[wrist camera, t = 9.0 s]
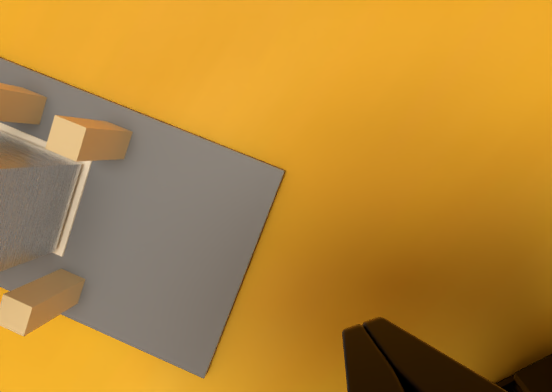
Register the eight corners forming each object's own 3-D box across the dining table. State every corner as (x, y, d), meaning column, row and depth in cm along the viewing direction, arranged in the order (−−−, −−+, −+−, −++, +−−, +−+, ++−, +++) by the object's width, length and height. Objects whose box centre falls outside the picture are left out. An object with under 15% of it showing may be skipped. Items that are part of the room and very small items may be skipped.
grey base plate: (285, 170, 21) (272, 176, 16) (206, 373, 22) (175, 428, 18) (-12, 52, 22) (-98, 28, 18) (-63, 252, 24) (-152, 276, 19)
